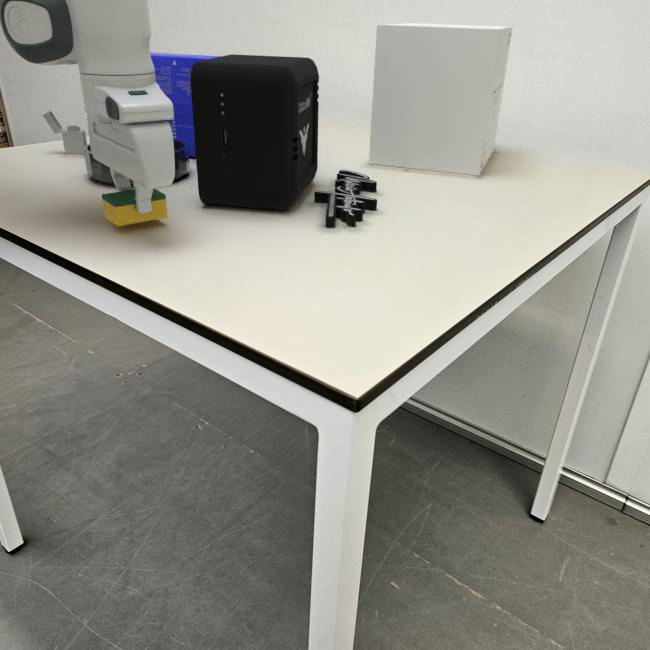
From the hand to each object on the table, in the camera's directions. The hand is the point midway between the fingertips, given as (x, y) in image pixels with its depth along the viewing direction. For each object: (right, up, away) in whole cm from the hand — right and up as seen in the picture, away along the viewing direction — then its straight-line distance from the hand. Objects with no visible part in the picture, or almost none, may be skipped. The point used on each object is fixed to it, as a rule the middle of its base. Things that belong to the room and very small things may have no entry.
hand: (134, 206), depth 81 cm
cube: (+49, +19, +45) cm, 69 cm away
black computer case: (+16, +5, +17) cm, 23 cm away
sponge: (0, -1, +1) cm, 2 cm away
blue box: (-1, +19, +42) cm, 46 cm away
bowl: (-7, +10, +25) cm, 28 cm away
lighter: (-26, +18, +39) cm, 50 cm away
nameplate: (+29, +4, +15) cm, 33 cm away
